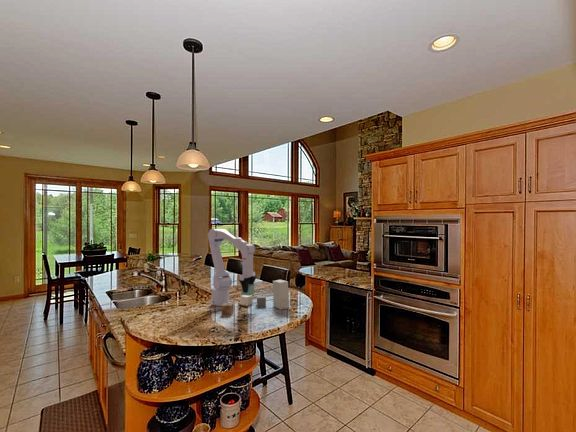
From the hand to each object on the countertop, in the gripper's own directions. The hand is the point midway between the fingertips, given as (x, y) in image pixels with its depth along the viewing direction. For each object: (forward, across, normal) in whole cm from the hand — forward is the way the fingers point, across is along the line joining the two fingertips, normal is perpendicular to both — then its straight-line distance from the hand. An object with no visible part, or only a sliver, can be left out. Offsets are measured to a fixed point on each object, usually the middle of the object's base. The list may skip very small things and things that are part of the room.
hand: (247, 291), depth 162 cm
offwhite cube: (+10, +10, +6) cm, 16 cm away
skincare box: (+10, +11, -15) cm, 21 cm away
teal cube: (+2, 0, 0) cm, 2 cm away
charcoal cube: (+10, +11, -3) cm, 15 cm away
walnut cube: (+10, -9, +7) cm, 15 cm away
